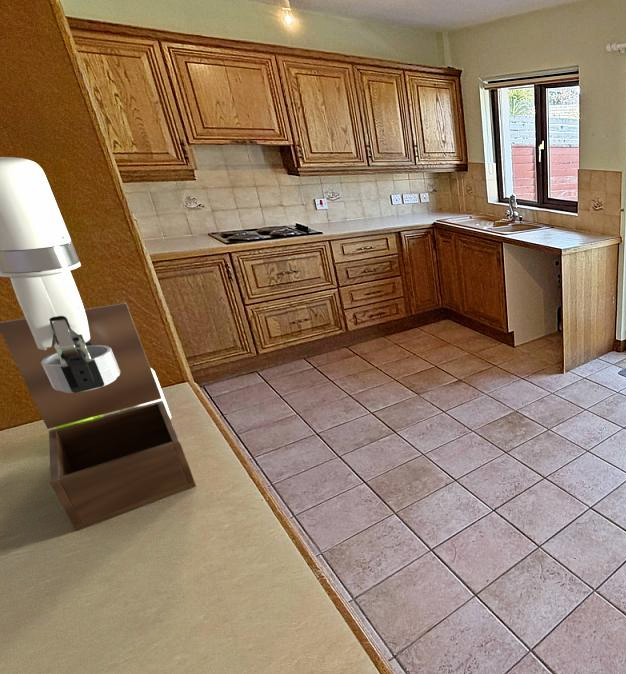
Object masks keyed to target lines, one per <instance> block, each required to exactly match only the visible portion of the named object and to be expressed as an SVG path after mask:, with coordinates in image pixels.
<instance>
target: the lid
mask: <svg viewBox="0 0 626 674" xmlns="http://www.w3.org/2000/svg"><path fill="white" fill-rule="evenodd" d="M84 310H85V313H86V317H87V321H88V326H89V333H90V340H89V342H91V343H92V345H104V346H108V347H110V348H111V349H112V352H113V354H114V357H115V359H116V362H117V364H118V367H119V369H120V375H119V376H118V377H117V379H116V380H115V381H113V382H112V383H110V384H108V385H105V386H103V387H100V388H97V389H93V390H89V391H84V392H77V393H65V392H62V391H57V390H55V389H54V388H53V387H52V385H51V383H50V381H49V379H48V376H47V374H46V372H45V370H44V368H43V366H42V364H41V362H42V360H43V359H44V358H46V357H47V356H49V355H51V354H54V353H57V352H56V349H55V348H54V344H53V341H52V345H51V347H48V348H47V350H41V349H38V347H37V344H36V342H35V339H34V337H33V335H32V332H31V330H30V327H29V325H28V323H27V320H26V318H25V317H23V318H17V319H11V320H5V321H0V334H1V336H2V338H3V340H4V342H5V344H6V346H7V348H8V351H9V352H10V355H11V356H12V358H13V361H14V362H15V365H16V367H17V369H18V371H19V373H20V375H21V377H22V380H23V381H24V384H25V386H26V388H27V390H28V392H29V393H30V396H31V398H32V400H33V402H34V404H35V406H36V408H37V411H38V412H39V415H40V417H41V418H42V420H43V422H44V424H45V426H46V429H48V430H50V429H54V428H55V427H57V426H61V425H65V424H68V423H72V422H76V421H80V420H83V419H87V418H91V417H95V416H98V415H105V414H106V415H107V414H109V413H110V414H111V413H113V412H114V413H115V412H118V411H119V410H121V409H125V408H129V407H132V406H136V405H140V404H144V403H148V402H151V401H155V400H159V399H162V397H161V395H160V392H159V389H158V386H157V384H156V381H155V378H154V376H153V373H152V370H151V368H152V367H151V366H150V363H149V360H148V357H147V355H146V352H145V349H144V346H143V344H142V341H141V339H140V335H139V333H138V330H137V328H136V325H135V322H134V320H133V317H132V315H131V311H130V309H129V306H128V304H127V302H122V303H115V304H109V305H102V306H95V307H88V308H84ZM57 341H58V340H57ZM89 342H86V343H89ZM58 343H59V342H58Z"/></svg>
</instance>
